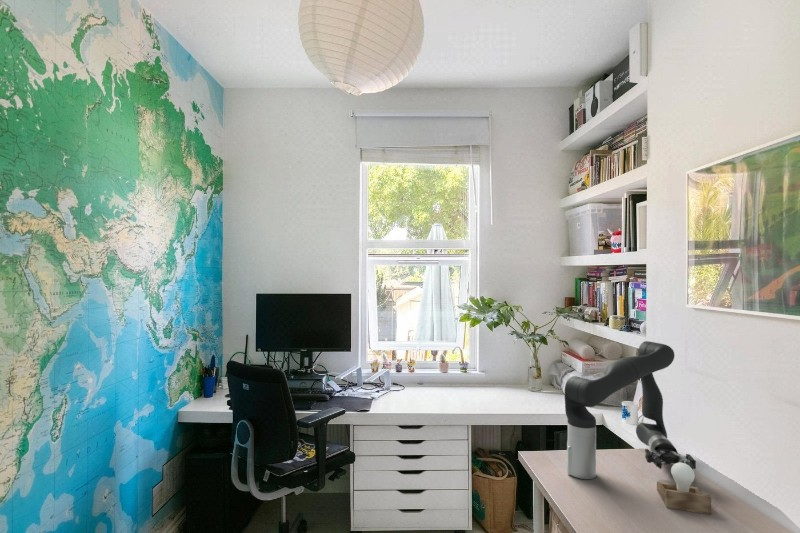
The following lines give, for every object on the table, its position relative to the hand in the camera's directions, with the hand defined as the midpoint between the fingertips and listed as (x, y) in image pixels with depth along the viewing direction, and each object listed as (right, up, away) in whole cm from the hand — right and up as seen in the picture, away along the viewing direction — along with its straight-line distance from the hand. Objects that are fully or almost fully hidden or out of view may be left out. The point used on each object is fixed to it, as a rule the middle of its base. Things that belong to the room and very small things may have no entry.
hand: (675, 467), depth 140 cm
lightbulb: (-2, -7, -7) cm, 10 cm away
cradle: (-2, -7, -7) cm, 10 cm away
